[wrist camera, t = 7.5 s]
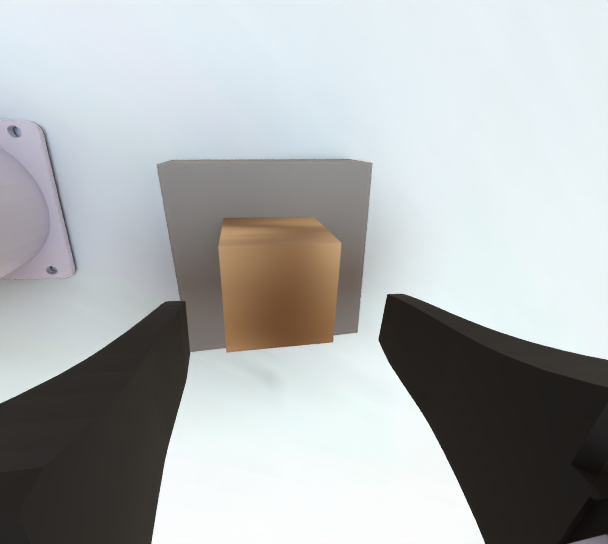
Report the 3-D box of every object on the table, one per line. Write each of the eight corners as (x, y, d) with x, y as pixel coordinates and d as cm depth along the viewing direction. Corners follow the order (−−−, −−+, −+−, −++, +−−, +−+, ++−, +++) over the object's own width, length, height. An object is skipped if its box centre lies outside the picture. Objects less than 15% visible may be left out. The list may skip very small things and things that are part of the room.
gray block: (197, 315, 21) (189, 352, 17) (174, 159, 17) (156, 164, 13) (338, 302, 23) (357, 332, 19) (346, 158, 19) (372, 162, 15)
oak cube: (229, 300, 16) (226, 352, 12) (223, 217, 15) (218, 246, 11) (310, 295, 17) (333, 342, 13) (314, 216, 16) (341, 243, 11)
